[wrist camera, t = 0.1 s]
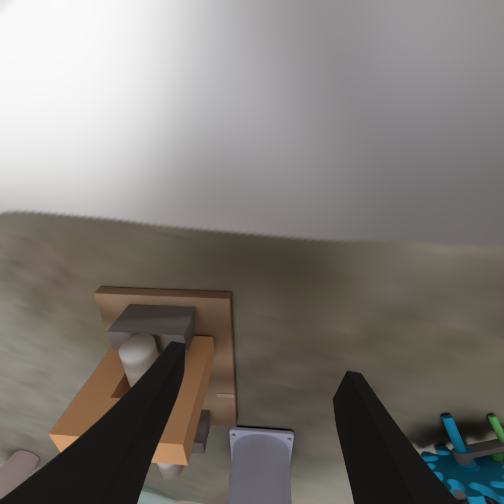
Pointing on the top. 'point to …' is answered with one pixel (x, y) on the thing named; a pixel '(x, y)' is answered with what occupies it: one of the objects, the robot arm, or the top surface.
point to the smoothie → (16, 470)
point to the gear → (471, 464)
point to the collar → (116, 385)
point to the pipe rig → (178, 330)
